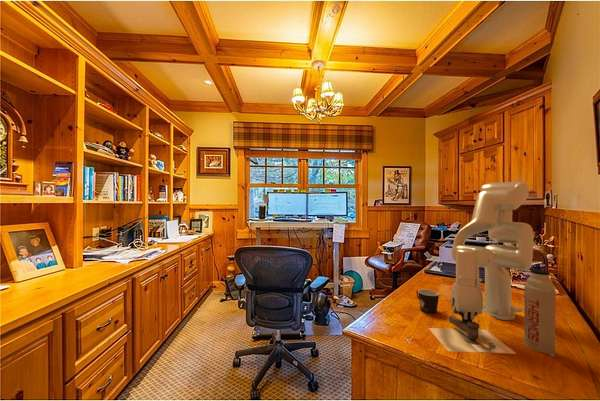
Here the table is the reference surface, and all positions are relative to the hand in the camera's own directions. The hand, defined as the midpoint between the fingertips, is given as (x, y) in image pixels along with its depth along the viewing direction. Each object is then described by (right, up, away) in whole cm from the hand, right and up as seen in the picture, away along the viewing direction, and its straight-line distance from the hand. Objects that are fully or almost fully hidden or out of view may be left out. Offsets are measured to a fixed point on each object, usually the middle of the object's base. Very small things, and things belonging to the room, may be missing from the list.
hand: (467, 328), depth 103 cm
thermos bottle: (+19, -3, -10) cm, 21 cm away
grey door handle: (-2, 0, -5) cm, 5 cm away
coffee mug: (-5, -3, +20) cm, 21 cm away
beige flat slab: (-3, -3, -6) cm, 7 cm away
